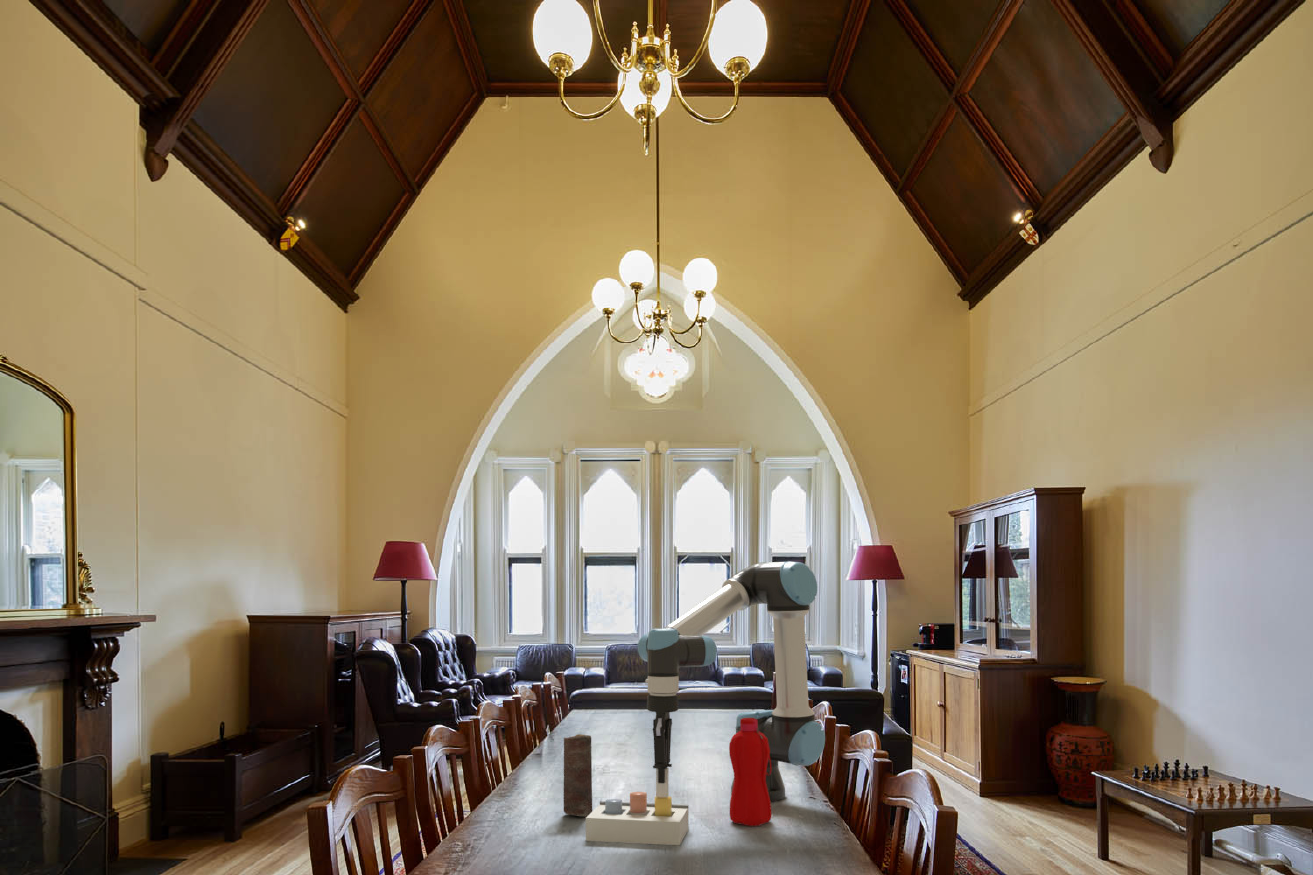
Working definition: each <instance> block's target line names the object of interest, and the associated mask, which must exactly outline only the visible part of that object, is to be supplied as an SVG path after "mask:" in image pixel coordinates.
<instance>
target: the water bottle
mask: <svg viewBox="0 0 1313 875" xmlns="http://www.w3.org/2000/svg"><path fill="white" fill-rule="evenodd" d="M740 724H741V730H740V731H739V732H738V733H736V732H735V734H733V735H732V737H731V739H730V741H729V744H728V745H729V747H728V749H729V758H730V762H731V766H732V772H733V779H734V784H733V789H732V795H731V794H730V800H729V818H730V820H731V821H732V822H733V823H734V824H737V825H738V824H739V825H743V826H748V827H758V826H761V825H763V824H764V825H765V824H766V823H767V822H768V823H770V821H771V819H772V815H773V814H772V804H771V802H772V801H770V798H769V793H768V789H767V785H766V774H767V772H766V770H767V764H768V759H769V760H770V755H769V754H770V748H769V743H768V739H767V738H766V737H765V735H764V734H762V733H761V732H759V731H758V721H757V719H754V718H743V719H741V722H740ZM770 774H771V760H770ZM770 774H769V775H770ZM767 775H768V774H767Z"/></svg>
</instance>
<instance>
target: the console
mask: <svg viewBox="0 0 1313 875" xmlns="http://www.w3.org/2000/svg"><path fill="white" fill-rule="evenodd" d="M605 801H606V800H605ZM605 801H604V800H603V801H599V805H598V806H597V807H595V808H594V809H592V812H591V813H590V814H589V815H588V816H587V817H585V841H586V842H587V841H588V842H607V843H608V842H609V843H623V844H624V843H626V844H646V845H647V844H648V845H667V846H669V845H670V846H681V844H682V842H683V840H684V838H685V836H686V835H687V833H688V831H689V827H690V826H689V825H690V824H689V820H690V819H689V804H672V816H670V817H665V816H655V803H650V802H649V803H648V802H647V812H645V813H631V812H630V801H628V802H626V801H624V802H623V801H622V815H621V814H605Z"/></svg>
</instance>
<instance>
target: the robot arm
mask: <svg viewBox="0 0 1313 875" xmlns="http://www.w3.org/2000/svg"><path fill="white" fill-rule="evenodd" d="M817 594H818V582H817V578H816V576H815V574H814V571H813V570H812V569H810V567H809V566H808V565H807V564H806V563H803V562H800V561H791V560H788V561H774V562H772V561H771V562H766V561H765V562H758V563H754V564H752V565H749V566H748V567H746V568H744V569H742V570H740V571H738V572H737V573H735V574H733V575H732V576H730V578H728V579H726V580H725V581H724V582H723V584H722V587H721V588H719V589H718V590H716V591H715V592H714V593H713V594H711V595H709V596H708V597H706V598H705V599H704V600H703V601H701V602H700V603H698V604H696V605H695V606H694V607H692V608H691V609H689V610H688V611H686V613H683V615H681V616H680V617H678V618H676V619H675V620H673V621H672V622H670V623H669V624H668V625H667V626H665V627H664V628H652V629H650V630H649V631H648V633H645V634H643V635H642V636H641V637H640V639H639V640H638V643H637V653H638V655H639V658H640V659H642V661H644V662H646V663H647V678H646V679H645V681H644V682H645V683H646V684H647V693H649V694H648V695H647V696H646V697H647V698H646V709H647V711H649V712H654V713H655V719H653V721H652V724H653V728H652V734H653V735H652V736H653V749H654V753H653V754H654V764H653V765H652V766H653V767H652V769H655V771H656V772H655V774H656V775H655V779H656V780H655V781H656V782H655V791H656V792H655V797H664V798H667V797H668V796H669V768H672V765H673V764H672V763H670V762H671V747H672V746H671V741H672V726H673V718H672V717H671V716H670V713H675V712H677V711H678V710H679V695H678V693H679V692H680V691H679V690H680V689H679V688H680V685H679V683H680V682H679V681H680V680H679V679H680V678H679V670H680V668H693V667H700V668H702V667H706V666H709V665H711V664H712V665H713V663H714V662H715V660H716V658H717V653H718V652H717V644H716V643H715V641H714V639H713V638H712V637H710V636H708V635H706V634H707V633H708V632H710V631H711V630H712V629H713V628H715V627H716V626H718V625H719V624H720V623H722V622H723V621H725V620H726V619H727V618H729V617H730V616H732V615H733V614H734V613H736V612H737V611H739V612H740V611H745V610H746V609H748V608H749V607H752V606H755V605H760V604H764V605H766V611H767V613H768V614H769V615H770V616H771V617H772V623H773V624H772V626H773V646H774V647H773V648H774V668H775V669H774V670H775V672H774V673H775V690H776V707H775V708H774V709H763V710H751V711H745V712H744V711H743V712H740V713H738V715H737V717H736V723H735V724H736V726H735V734H736V733H738V732H739V731H740V730H741V724H740V722H741V719H743V718H754V719H757V721H758V731H759V732H761V733H762V734H764V735H765V737H766V738H767V739H768V743H769V748H770V754H769V755H770V760H771V774H770V760H769V759H768V764H767V770H766V772H767V774H768V775H767V774H766V785H767V789H768V793H769V798H770V802H777V801H780V800H783V799H785V798H786V787H785V784H784V781H783V777H782V775H781V774H782V773H781V771H780V768H779V762H780V763H786V764H790V765H792V766H802V767H804V766H805V767H809V766H811V765H813V764H814V763H816V762H817V761H818V760H819V759H820V756H821V755H822V753H823V751H824V748H825V743H826V733H825V729H824V728H823V727H822V724H820V723H819V722H817V721H816V716H815V711H814V710H813V709H812V708H811V707H810V704H809V688H808V687H809V685H808V670H807V669H808V668H807V666H808V665H807V647H806V646H807V645H806V644H807V643H806V627H805V617H806V615H807V614H808V613H810V605H811V604H812V603H813V602H815V599H816V596H817ZM769 774H770V775H769ZM733 784H734V778H732V782H731V785H730V786H731V787H730V796H731V795H732V789H733Z"/></svg>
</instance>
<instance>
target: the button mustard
mask: <svg viewBox="0 0 1313 875" xmlns="http://www.w3.org/2000/svg"><path fill="white" fill-rule="evenodd" d="M672 802H673V801H672V796H669V795H668V797H667V798H664V797H656V796H654V804H655V816H665V817H670V816H672Z"/></svg>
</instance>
